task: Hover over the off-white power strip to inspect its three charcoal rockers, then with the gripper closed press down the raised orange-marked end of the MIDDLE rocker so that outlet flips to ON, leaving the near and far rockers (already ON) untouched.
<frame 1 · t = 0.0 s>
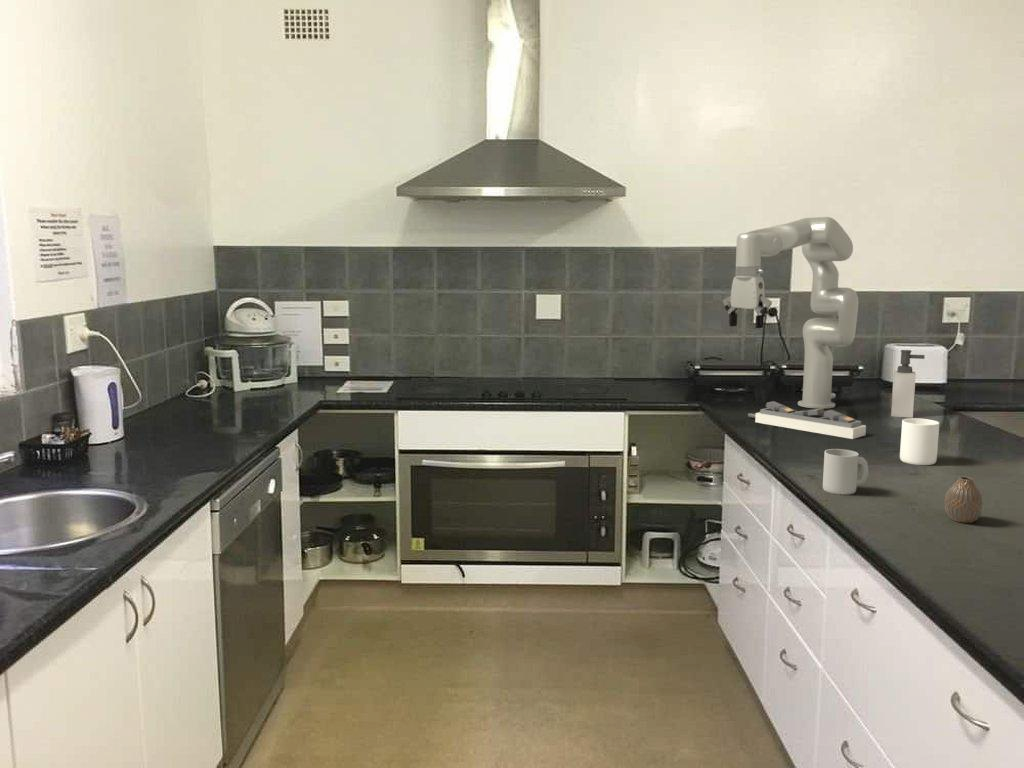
hand: (745, 327, 253), 31 cm above the countertop, fingers open, 9 cm apart
soap dispenser: (905, 416, 268), on the countertop
rocker 3: (839, 417, 240), point 5 cm above the countertop, hinge at -14.0°
vase: (962, 520, 162), on the countertop
cup: (845, 491, 183), on the countertop
mug: (915, 460, 209), on the countertop
rocker 2: (808, 412, 248), point 5 cm above the countertop, hinge at 14.0°
rocker 1: (780, 408, 256), point 5 cm above the countertop, hinge at -14.0°
power strip: (808, 428, 249), on the countertop
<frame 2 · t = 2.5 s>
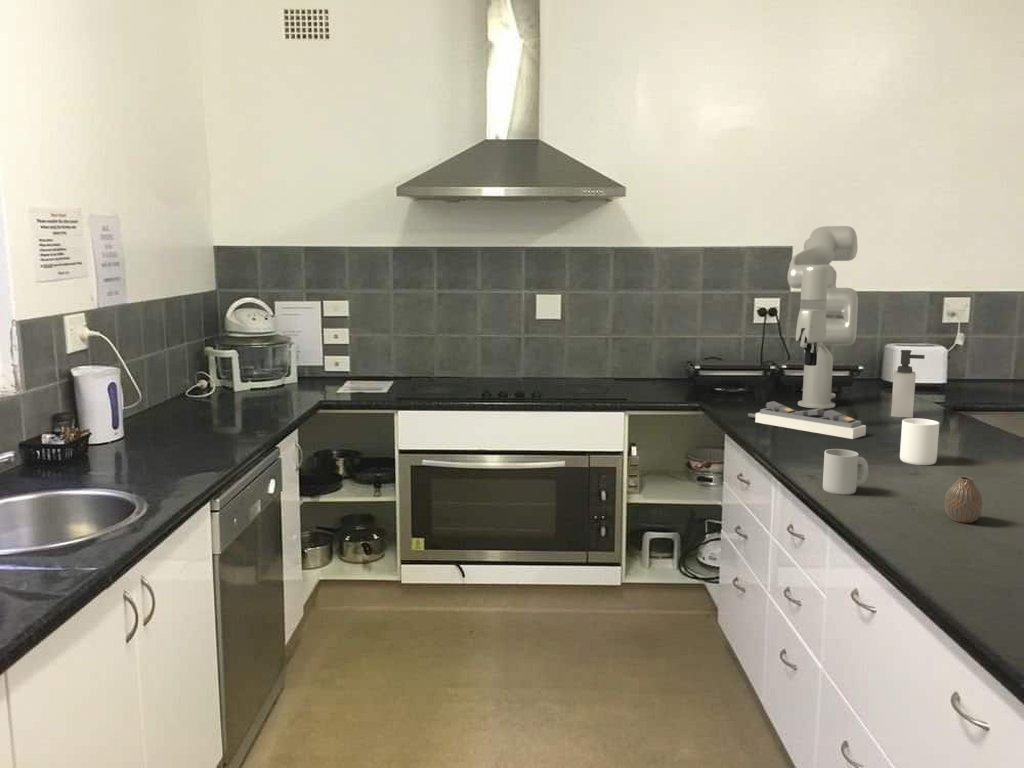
hand: (810, 365, 246), 20 cm above the countertop, fingers closed
nothing on the countertop moved.
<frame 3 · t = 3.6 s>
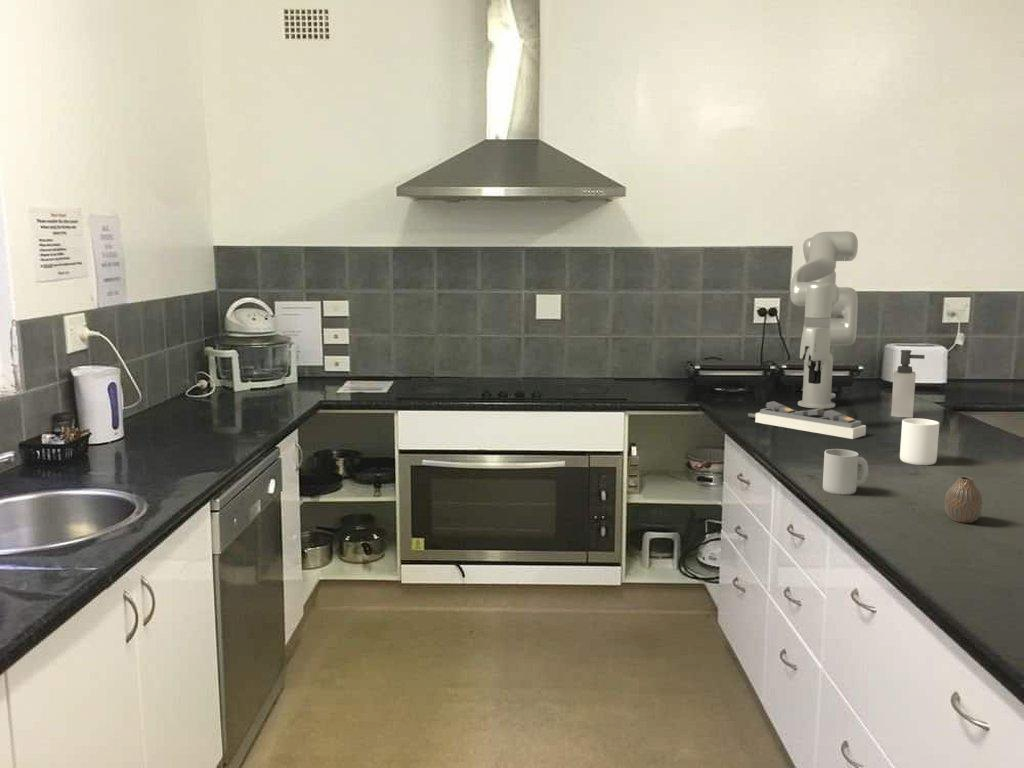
hand: (814, 383, 245), 15 cm above the countertop, fingers closed
nothing on the countertop moved.
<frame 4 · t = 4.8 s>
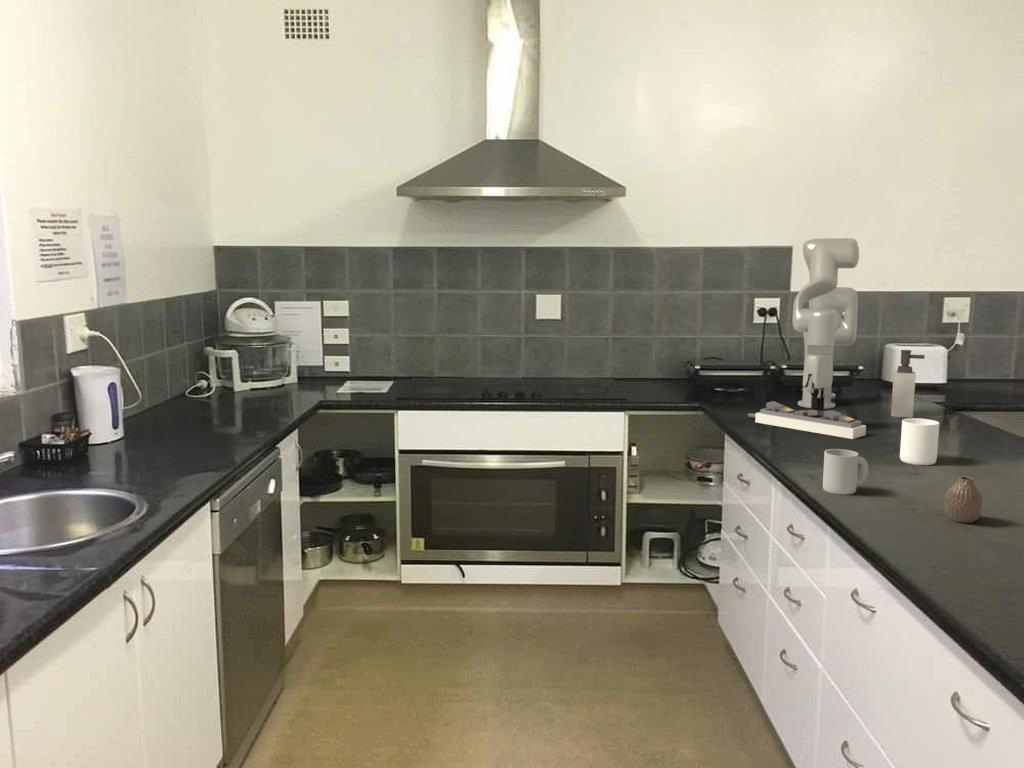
hand: (817, 410, 245), 6 cm above the countertop, fingers closed
rocker 2: (808, 412, 248), point 5 cm above the countertop, hinge at 12.0°, touching gripper
everything else where it was.
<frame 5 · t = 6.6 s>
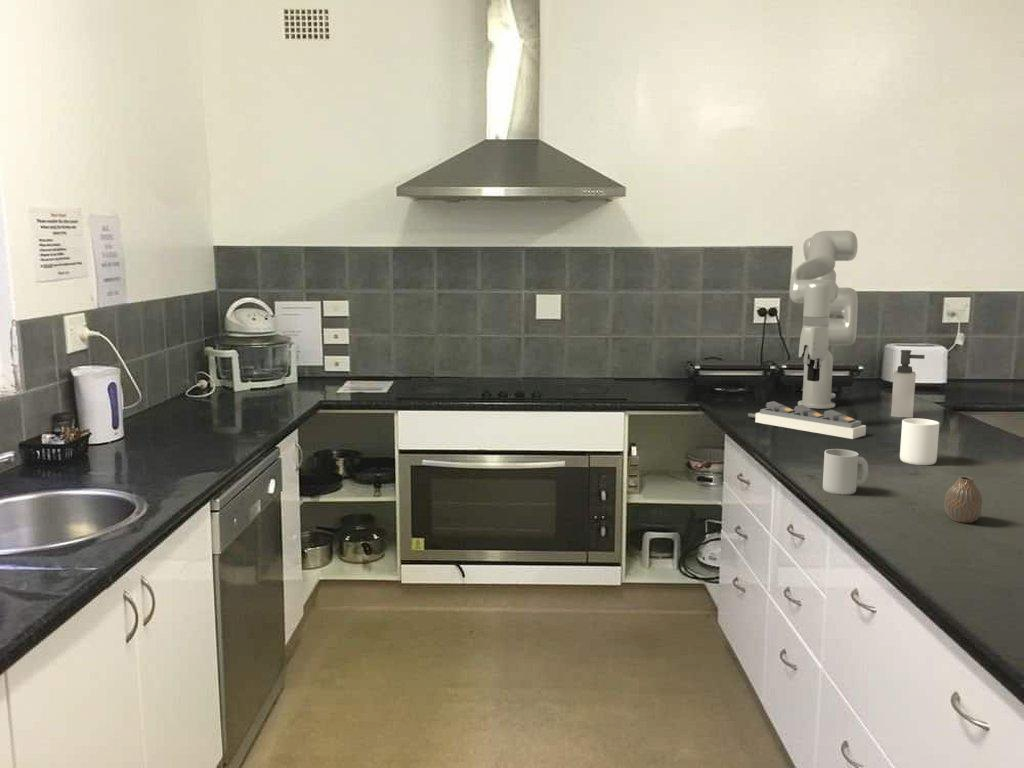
hand: (813, 380, 248), 15 cm above the countertop, fingers closed
rocker 2: (808, 412, 248), point 5 cm above the countertop, hinge at -17.5°
everything else where it was.
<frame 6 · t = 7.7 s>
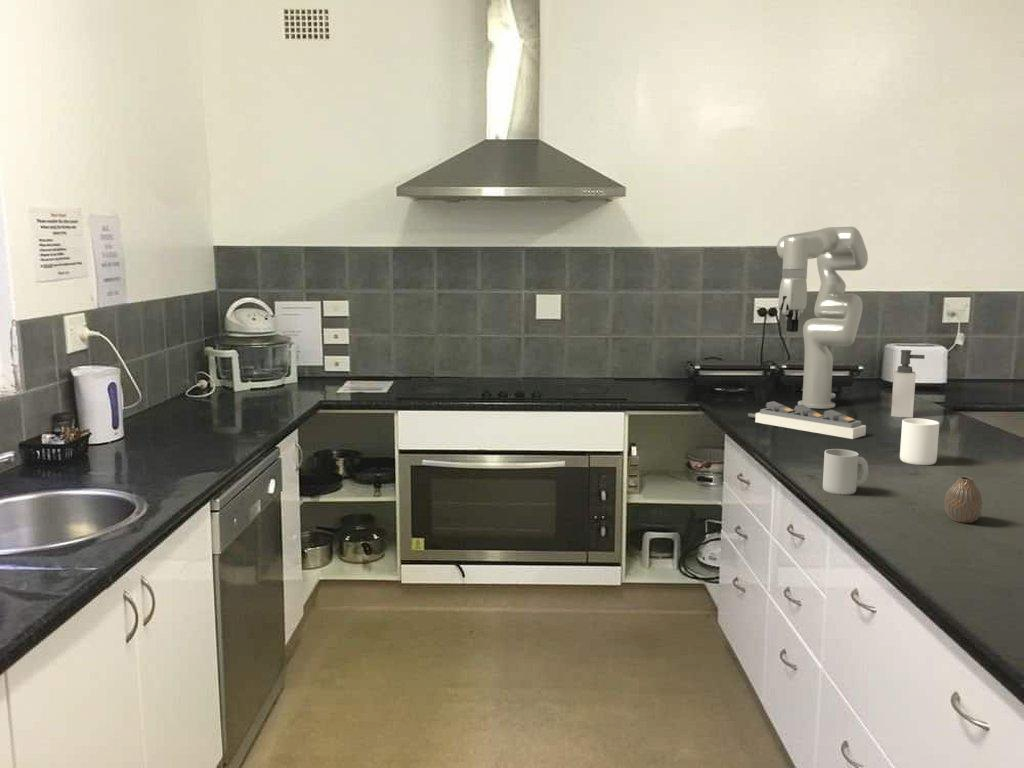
hand: (792, 331, 260), 29 cm above the countertop, fingers closed
rocker 2: (808, 412, 248), point 5 cm above the countertop, hinge at -19.9°, touching power strip
everything else where it was.
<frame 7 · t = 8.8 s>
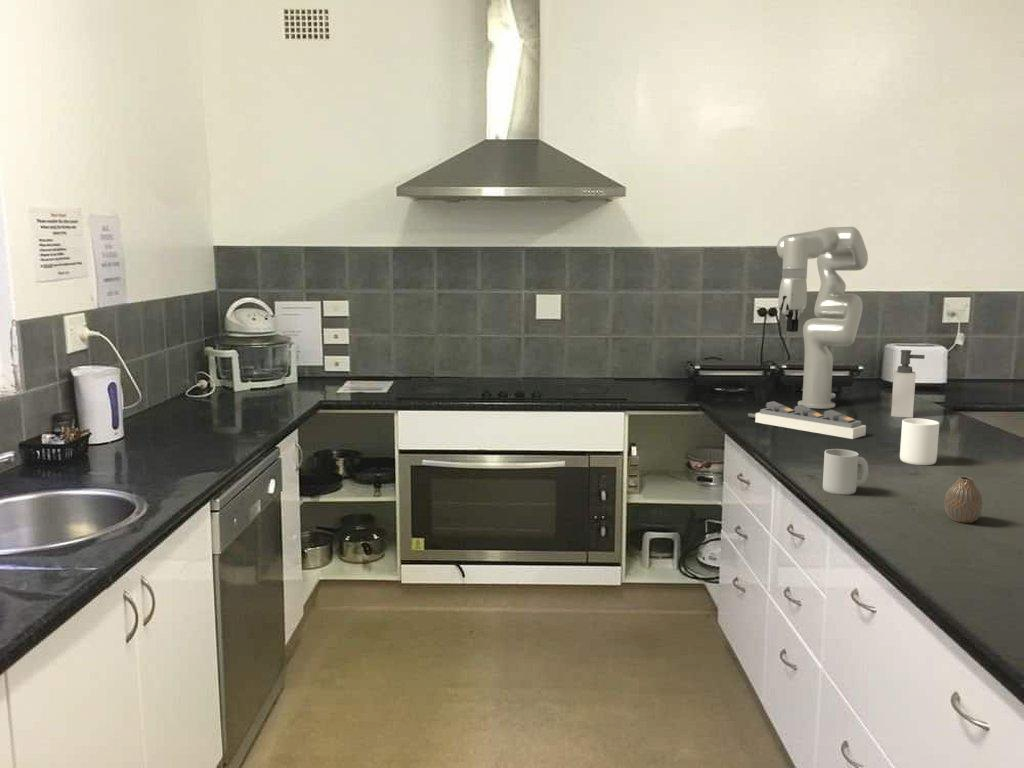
hand: (792, 331, 260), 29 cm above the countertop, fingers closed
rocker 2: (808, 412, 248), point 5 cm above the countertop, hinge at -17.6°
everything else where it was.
at the end: rocker 2 at -18° (first picture: +14°); rocker 1 at -14° (first picture: -14°); rocker 3 at -14° (first picture: -14°) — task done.
